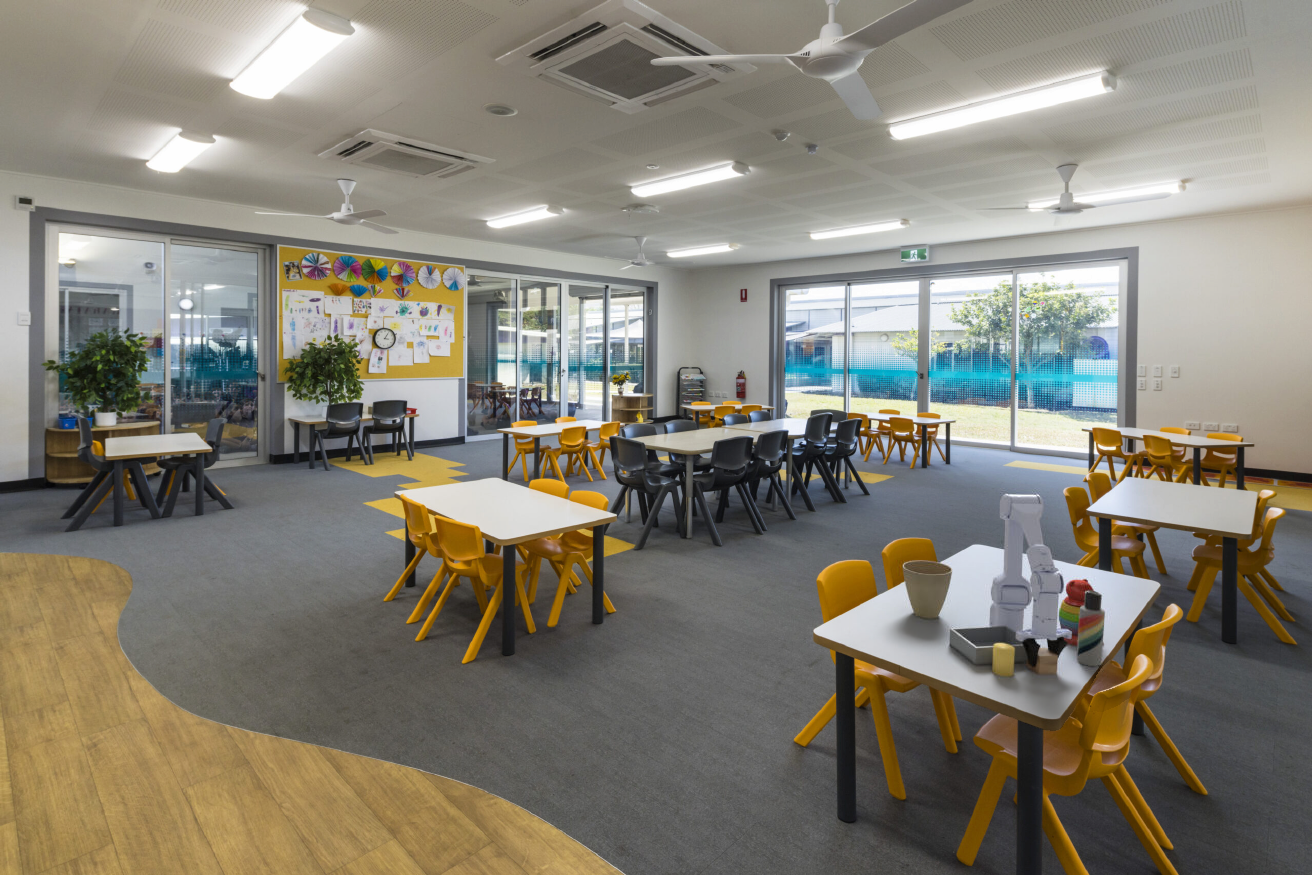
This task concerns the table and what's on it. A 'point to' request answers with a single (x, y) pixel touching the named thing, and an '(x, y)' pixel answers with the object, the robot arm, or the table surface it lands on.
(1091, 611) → the lotion bottle
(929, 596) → the plant pot
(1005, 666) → the mustard cylinder
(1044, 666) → the wooden block
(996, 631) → the tray
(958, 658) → the table surface
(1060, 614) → the stacking bear
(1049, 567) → the robot arm
